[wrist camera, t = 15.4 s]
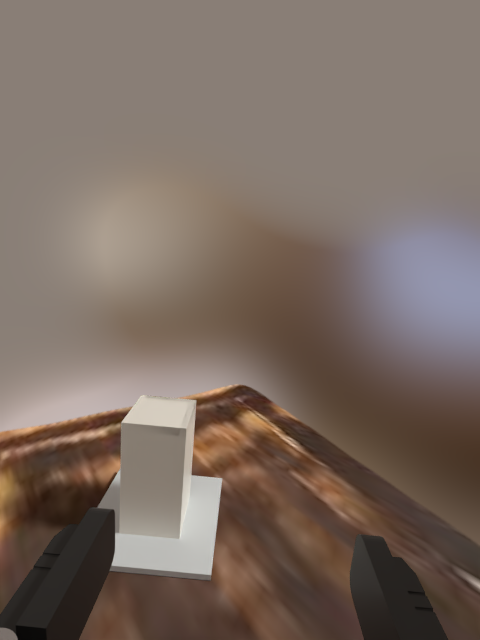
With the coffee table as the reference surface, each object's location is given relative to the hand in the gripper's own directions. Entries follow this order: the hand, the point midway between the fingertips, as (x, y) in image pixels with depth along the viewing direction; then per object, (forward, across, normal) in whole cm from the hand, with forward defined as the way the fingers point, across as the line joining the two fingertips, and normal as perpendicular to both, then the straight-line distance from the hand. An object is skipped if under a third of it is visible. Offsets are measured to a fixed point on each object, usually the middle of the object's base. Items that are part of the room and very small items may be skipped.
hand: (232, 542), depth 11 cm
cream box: (+21, +8, +19) cm, 30 cm away
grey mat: (+21, +8, +20) cm, 30 cm away
